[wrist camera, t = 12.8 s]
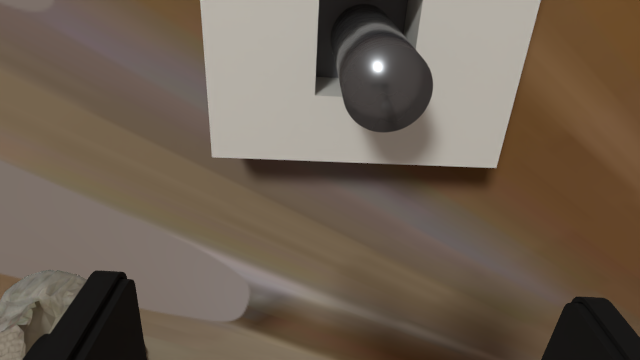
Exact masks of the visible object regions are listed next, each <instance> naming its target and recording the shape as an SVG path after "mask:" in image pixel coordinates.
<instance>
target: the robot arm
mask: <svg viewBox="0 0 640 360" xmlns="http://www.w3.org/2000/svg"><path fill="white" fill-rule="evenodd" d="M22 360H147V358H146V352H145V345H144V339H143V332H142V326H141V320H140V313H139V307H138V300H137V294H136V287H135V283H134V281H133V280H131V279H127V276H126V274H125V273H124V272H114V271H94V272H93V273H92V274H91V275H90V277H89V278H88V279H87V281H86V282H85V284H84V285H83V287H82V288H81V290H80V291H79V292H78V294H77V295H76V297H75V298H74V300H73V301H72V303H71V304H70V306H69V307H68V308H67V310H66V311H65V313H64V314H63V316H62V317H61V319H60V320H59V321H58V323H57V324H56V326H55V327H54V329H53V330H52V332H51V333H50V334H44V335H42V336H41V337H39V338H38V339H37V341H36V342H35V343H34V344H33V345H32V347H31V348H30V349H29V351H28V352H27V354H26V355H25V356H24V358H23V359H22ZM541 360H640V337H639V336H638V335H637V334H636V332H635V331H634V330H633V329H632V328H631V326H630V325H629V324H628V323H627V321H626V320H625V319H624V318H623V317H622V315H621V314H620V313H619V312H618V310H617V309H616V308H615V307H614V306H613V304H612V303H611V302H610V301H609V300H607V299H605V298H595V297H575V298H574V299H573V300H572V302H571V303H567V304H566V305H565V307H564V309H563V311H562V313H561V315H560V318H559V320H558V322H557V325H556V327H555V329H554V332H553V334H552V336H551V338H550V341H549V343H548V345H547V348H546V350H545V352H544V355H543V357H542V359H541Z"/></svg>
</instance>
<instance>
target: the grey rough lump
mask: <svg viewBox="0 0 640 360" xmlns="http://www.w3.org/2000/svg"><path fill="white" fill-rule="evenodd" d="M86 281H87V280H86V279H84V278H82V277H80V276H77V274H71V273H68V272H63V271H59V270H57V271H53V270H46V271H41V272H39V273H35V274H31V275H28V277H24V279H23V278H22V280H21V281H19V282H17V283H15V284H14V285H13V286H11V288H10V289H8V290H7V291H5V293H4V295H3V297H2V298H1V301H0V360H22V359H23V358H24V356H25V355H26V354H27V352H28V351H29V349H30V348H31V347H32V345H33V344H34V343H35V342H36V341H37V339H38V338H39V337H41V336H42V335H44V334H50V333H51V332H52V330H53V329H54V327H55V326H56V324H57V323H58V321H59V320H60V319H61V317H62V316H63V314H64V313H65V311H66V310H67V308H68V307H69V306H70V304H71V303H72V301H73V300H74V298H75V297H76V295H77V294H78V292H79V291H80V290H81V288H82V287H83V285H84V284H85V282H86ZM145 352H146V351H145Z"/></svg>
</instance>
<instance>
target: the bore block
mask: <svg viewBox="0 0 640 360" xmlns="http://www.w3.org/2000/svg"><path fill="white" fill-rule="evenodd" d="M540 1H541V0H200V4H201V17H202V30H203V43H204V56H205V69H206V83H207V96H208V109H209V122H210V135H211V149H212V157H221V158H247V159H273V160H299V161H325V162H351V163H377V164H403V165H429V166H455V167H481V168H496V167H497V163H498V160H499V156H500V152H501V148H502V144H503V141H504V137H505V133H506V129H507V126H508V122H509V118H510V114H511V111H512V107H513V103H514V99H515V95H516V92H517V88H518V84H519V80H520V77H521V73H522V69H523V65H524V61H525V58H526V54H527V50H528V46H529V43H530V39H531V35H532V31H533V27H534V24H535V20H536V16H537V12H538V9H539V5H540ZM358 4H369V5H373V6H376V7H378V8H380V9H381V10H382V11H384V12H385V13H386V15H387V16H388V17H389V18H390V19H391V21H392V22H393V23H394V24H395V25H396V27H397V28H398V29H399V30H400V31H401V33H402V34H403V35H404V36H405V37H406V39H407V40H408V41H409V42H410V43H411V45H412V46H413V47H414V48H415V49H416V51H417V52H418V53H419V54H420V55H421V57H422V58H423V59H424V60H425V62H426V63H427V65H428V67H429V68H430V71H431V74H432V78H433V92H432V97H431V100H430V102H429V104H428V106H427V108H426V110H425V111H424V113H423V114H422V115H421V116H420V117H419V118H418V119H417V120H416V121H415V122H413V123H412V124H411V125H409V126H407V127H405V128H403V129H401V130H397V131H393V132H385V133H383V132H374V131H371V130H368V129H365V128H363V127H362V126H360V125H359V124H357V123H356V122H355V121H354V120H353V119H352V118H351V117H350V115H349V114H348V112H347V110H346V108H345V105H344V101H343V96H342V92H341V87H340V83H339V78H338V73H337V69H336V64H335V60H334V55H333V50H332V46H331V31H332V27H333V24H334V22H335V21H336V19H337V18H338V16H339V15H340V14H341V13H342V12H343V11H345V10H346V9H348V8H349V7H352V6H354V5H358Z"/></svg>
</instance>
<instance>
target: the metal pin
mask: <svg viewBox="0 0 640 360" xmlns="http://www.w3.org/2000/svg"><path fill="white" fill-rule="evenodd" d="M331 46H332V50H333V55H334V60H335V64H336V69H337V73H338V78H339V83H340V87H341V92H342V96H343V101H344V105H345V108H346V110H347V112H348V114H349V115H350V117H351V118H352V119H353V120H354V121H355V122H356V123H357V124H359V125H360V126H362V127H363V128H365V129H368V130H371V131H374V132H383V133H385V132H393V131H397V130H401V129H403V128H405V127H407V126H409V125H411V124H412V123H413V122H415V121H416V120H417V119H418V118H419V117H420V116H421V115H422V114H423V113H424V111H425V110H426V108H427V106H428V104H429V102H430V100H431V97H432V92H433V78H432V74H431V71H430V68H429V67H428V65H427V63H426V62H425V60H424V59H423V58H422V57H421V55H420V54H419V53H418V52H417V51H416V49H415V48H414V47H413V46H412V45H411V43H410V42H409V41H408V40H407V39H406V37H405V36H404V35H403V34H402V33H401V31H400V30H399V29H398V28H397V27H396V25H395V24H394V23H393V22H392V21H391V19H390V18H389V17H388V16H387V15H386V13H385V12H384V11H382V10H381V9H380V8H378V7H376V6H373V5H369V4H358V5H354V6H352V7H349V8H348V9H346V10H345V11H343V12H342V13H341V14H340V15H339V16H338V18H337V19H336V21H335V22H334V24H333V27H332V31H331Z"/></svg>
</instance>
